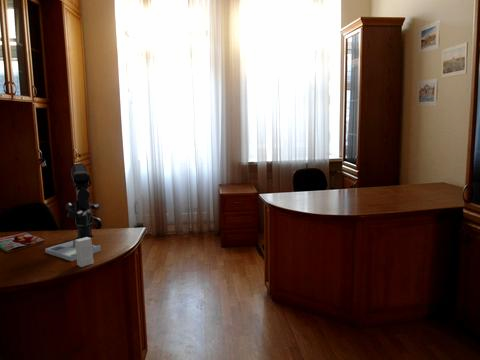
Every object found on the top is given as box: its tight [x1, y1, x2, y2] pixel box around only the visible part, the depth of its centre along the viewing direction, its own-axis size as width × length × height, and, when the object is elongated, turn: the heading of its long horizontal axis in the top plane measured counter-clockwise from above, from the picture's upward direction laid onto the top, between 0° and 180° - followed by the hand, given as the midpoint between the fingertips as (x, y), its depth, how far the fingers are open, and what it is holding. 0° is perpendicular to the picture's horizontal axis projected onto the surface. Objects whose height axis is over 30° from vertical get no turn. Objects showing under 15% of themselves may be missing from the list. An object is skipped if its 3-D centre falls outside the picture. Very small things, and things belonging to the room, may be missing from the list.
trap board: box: [44, 239, 102, 262], centre depth 198 cm, size 16×22×3 cm
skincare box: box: [74, 237, 94, 268], centre depth 180 cm, size 6×4×12 cm
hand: (85, 226), depth 206 cm, fingers closed
